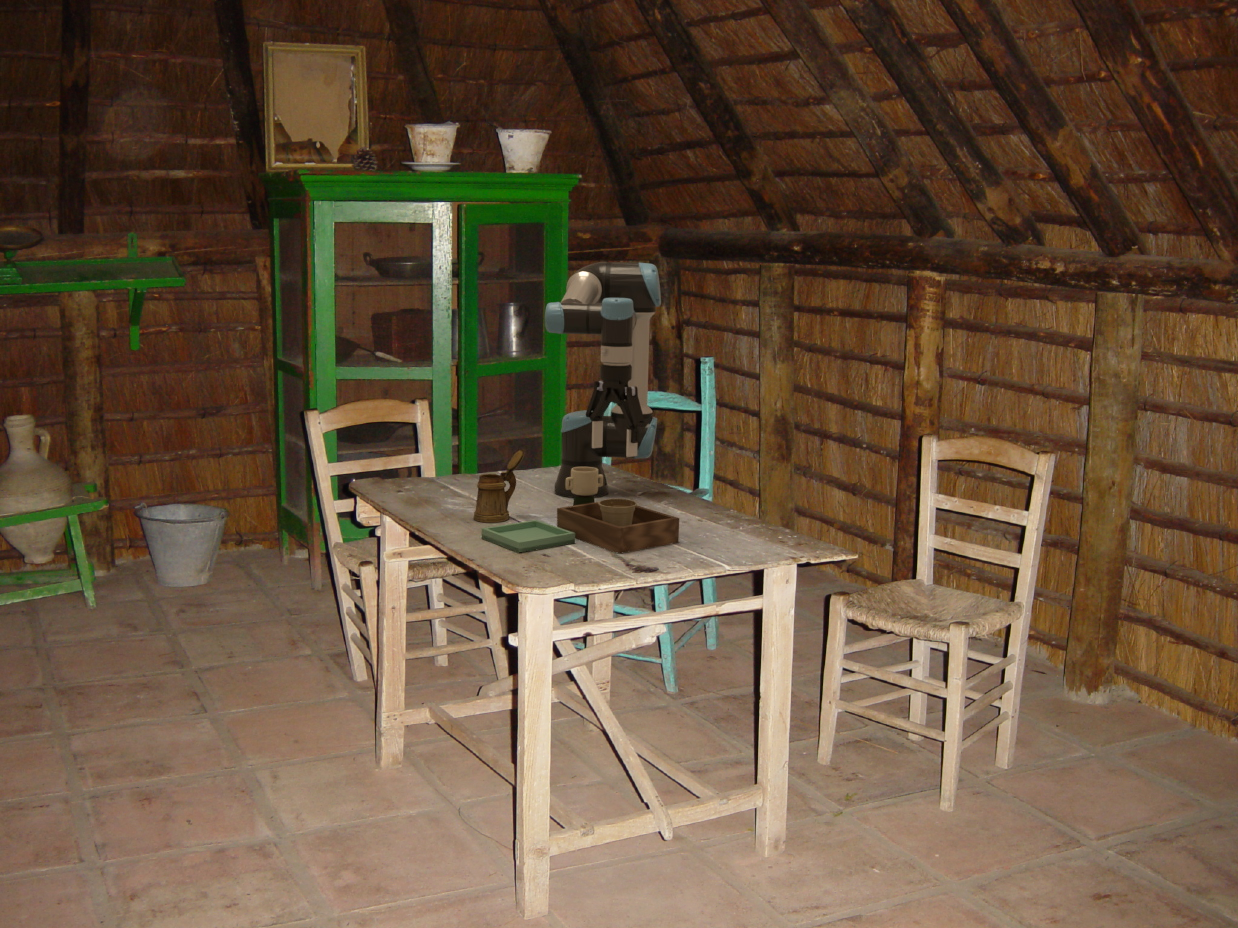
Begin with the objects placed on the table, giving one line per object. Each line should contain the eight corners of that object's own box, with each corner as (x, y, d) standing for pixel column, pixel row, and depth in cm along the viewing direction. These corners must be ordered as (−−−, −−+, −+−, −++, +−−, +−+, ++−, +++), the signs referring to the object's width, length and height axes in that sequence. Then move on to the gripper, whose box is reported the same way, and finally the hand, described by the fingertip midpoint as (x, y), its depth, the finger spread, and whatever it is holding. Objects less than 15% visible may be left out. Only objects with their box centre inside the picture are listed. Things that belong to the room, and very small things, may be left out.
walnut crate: (615, 522, 310) (615, 499, 308) (678, 542, 291) (679, 518, 290) (556, 531, 298) (557, 508, 297) (618, 553, 280) (619, 528, 278)
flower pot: (608, 543, 288) (609, 508, 287) (591, 534, 297) (591, 500, 295) (643, 539, 293) (644, 505, 291) (625, 531, 301) (625, 497, 299)
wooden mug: (530, 520, 309) (530, 451, 306) (478, 523, 304) (479, 453, 301) (519, 512, 318) (520, 445, 314) (469, 516, 312) (469, 447, 309)
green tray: (536, 529, 300) (536, 519, 300) (574, 543, 288) (575, 532, 287) (481, 538, 290) (481, 528, 290) (519, 553, 278) (519, 542, 278)
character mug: (595, 513, 319) (596, 464, 316) (608, 519, 313) (609, 469, 310) (558, 517, 313) (559, 468, 311) (571, 523, 307) (572, 473, 305)
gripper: (572, 359, 294) (571, 445, 298) (636, 369, 275) (634, 461, 279) (597, 358, 299) (595, 442, 303) (662, 368, 279) (659, 458, 283)
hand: (614, 452), depth 291 cm, fingers open, 13 cm apart
